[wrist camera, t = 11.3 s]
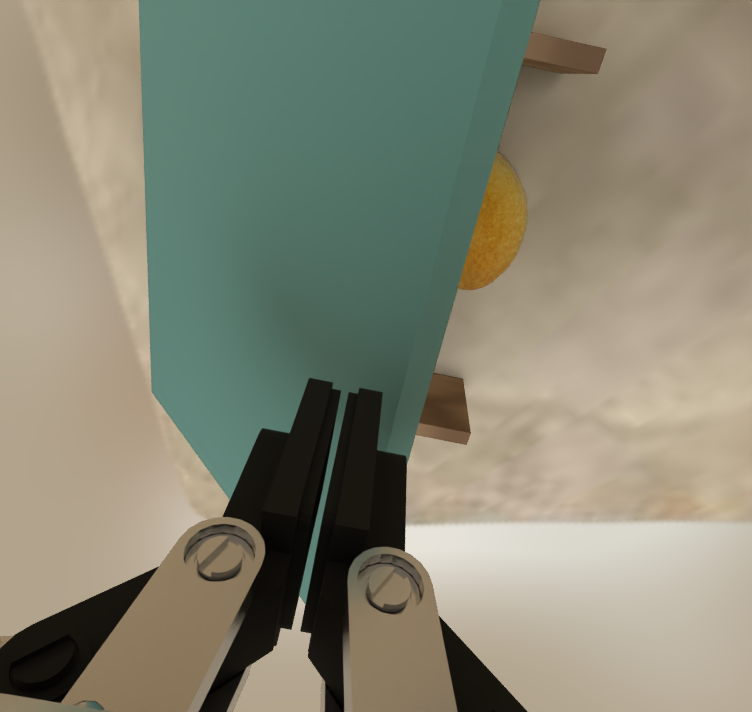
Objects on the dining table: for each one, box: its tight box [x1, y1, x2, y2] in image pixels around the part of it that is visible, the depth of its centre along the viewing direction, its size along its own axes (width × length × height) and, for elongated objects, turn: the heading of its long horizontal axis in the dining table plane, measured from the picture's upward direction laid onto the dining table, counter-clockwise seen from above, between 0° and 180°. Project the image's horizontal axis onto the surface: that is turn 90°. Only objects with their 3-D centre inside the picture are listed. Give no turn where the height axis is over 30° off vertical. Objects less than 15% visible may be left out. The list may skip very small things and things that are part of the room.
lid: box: [139, 0, 540, 604], centre depth 17 cm, size 16×19×1 cm
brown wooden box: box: [416, 32, 606, 445], centre depth 25 cm, size 16×19×6 cm
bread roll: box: [458, 152, 527, 290], centre depth 26 cm, size 8×9×4 cm
